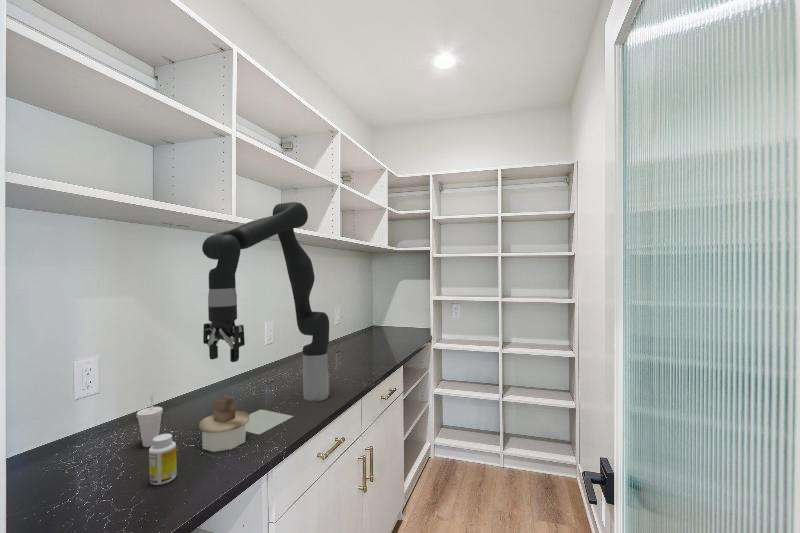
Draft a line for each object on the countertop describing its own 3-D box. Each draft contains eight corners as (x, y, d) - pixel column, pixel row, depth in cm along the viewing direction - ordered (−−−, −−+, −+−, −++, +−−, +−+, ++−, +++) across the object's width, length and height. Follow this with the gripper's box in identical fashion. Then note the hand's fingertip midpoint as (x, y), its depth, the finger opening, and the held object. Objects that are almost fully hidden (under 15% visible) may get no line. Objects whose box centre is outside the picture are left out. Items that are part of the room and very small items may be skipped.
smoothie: (168, 441, 111) (167, 394, 111) (144, 451, 105) (143, 401, 105) (156, 437, 114) (155, 390, 114) (132, 446, 108) (131, 397, 108)
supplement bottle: (180, 472, 94) (179, 431, 94) (171, 484, 89) (170, 441, 89) (155, 474, 93) (155, 433, 93) (144, 487, 88) (144, 443, 88)
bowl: (227, 432, 116) (227, 413, 116) (253, 439, 111) (253, 419, 111) (194, 448, 106) (194, 427, 106) (221, 456, 101) (221, 434, 101)
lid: (228, 411, 117) (227, 389, 117) (258, 418, 112) (258, 394, 112) (188, 427, 106) (188, 402, 106) (220, 436, 100) (220, 410, 100)
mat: (260, 411, 133) (260, 409, 133) (293, 417, 127) (293, 416, 127) (224, 427, 120) (224, 425, 120) (259, 436, 113) (259, 434, 113)
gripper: (251, 303, 109) (252, 359, 109) (217, 302, 116) (218, 355, 116) (229, 306, 103) (230, 365, 103) (194, 304, 109) (195, 361, 109)
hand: (224, 360), depth 109 cm, fingers open, 8 cm apart
